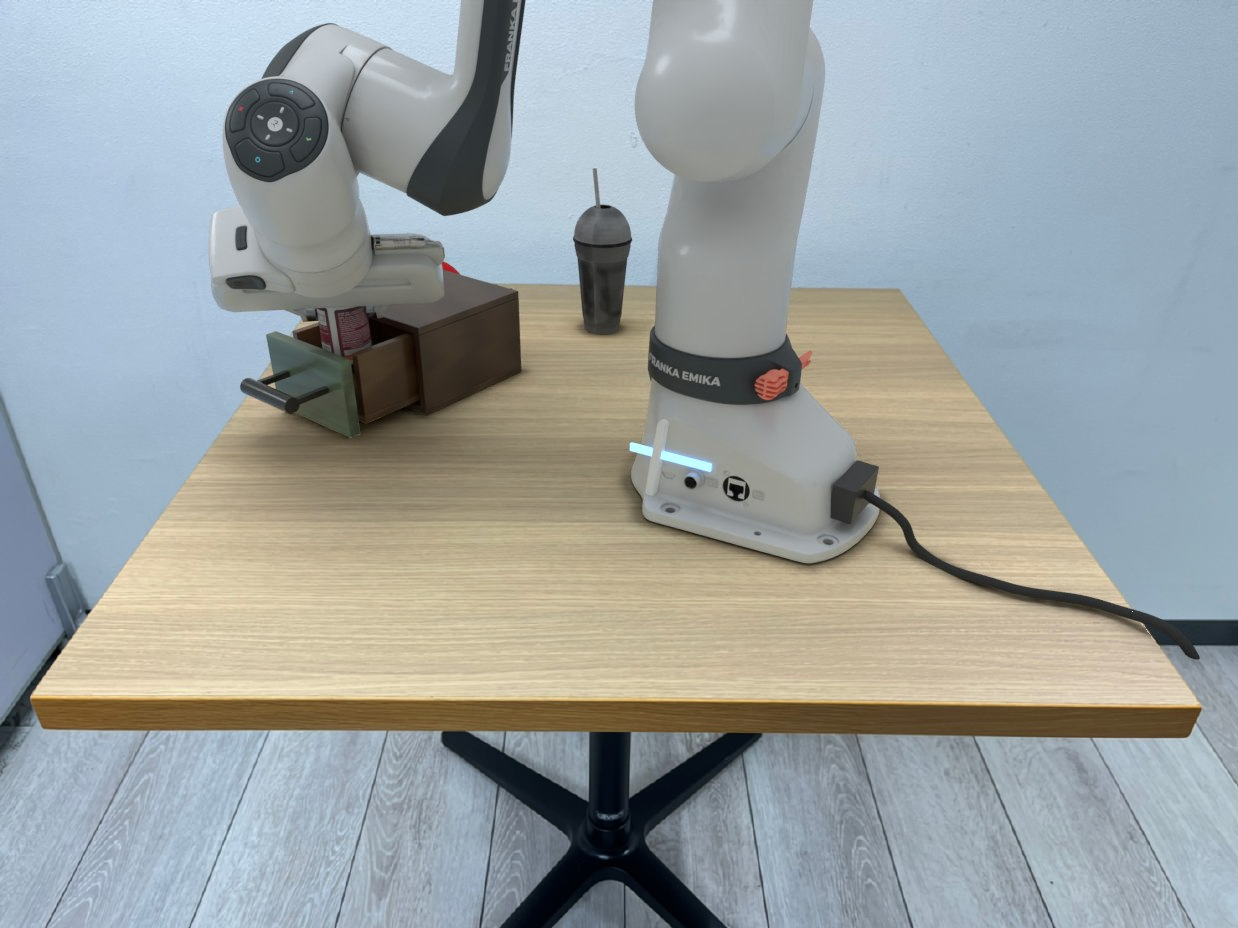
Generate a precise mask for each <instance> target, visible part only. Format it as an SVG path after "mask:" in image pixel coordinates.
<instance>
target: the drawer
mask: <svg viewBox="0 0 1238 928" xmlns="http://www.w3.org/2000/svg"><path fill="white" fill-rule="evenodd" d="M368 321H369V329H370V337H371V343H372V346H371V347H368V348H366V349H363V350H360V351H358V352H355V353H352V357H353V364H352V365H351V360H350V359H347V358H345V357H342V356H340V355H337V354H334V353H332V352H329V351H327V350H324V349H323V347H322V341H321V335H320V328H319V322H318V321H317V322H315V323H312V324H309V325H306V326H303V327H300V328H297V329H294V330H292V331H291V333H292V336H290V335H287V334H285V333H283V332H280V331H277V330H275V331H273V332H270V333H266V334H265V338H266V343H267V349H268V354H269V359H270V365H271V370H272V374H270V375H268V376H265V377H263V378H260V379H257V380H256V379H253V378H251V377H246V378H244V379H242V380H241V382H240V385H239V389H240V392H242V393H243V395H246V396H249V397H250V398H253V399H255V400H258V401H260V402H261V403H264V404H266V405H268V406H271V407H273V408H275V409H277V410H279V411H282V412H284V413H285V414H288V415H294V414H296V415H299V416H301V417H302V418H305V419H307V420H309V421H312V422H314V423H316V424H319V425H321V426H323V427H325V428H327V429H330V430H332V431H333V432H337V433H338V434H341V435H343V436H345V437H348V438H349V439H352V438H354V437H357V436H359V435H361V428H360V423H362V424H365V425H367V424H370V423H372V422H374V421H376V420H378V419H379V420H380V419H381V418H383V417H385V416H387V415H390V414H392V413H394V412H397V411H399V410H401V409H404V408H407V407H406V406H408V405H410V404H412V403H415V402H417V401H419V400H420V393H419V383H418V373H417V362H416V352H415V342H414V333H411V332H408V331H405V330H402V329H399V328H396V327H393V326H390V325H387V324H384V323H381V322H379V321H376V320H373V319H370V318H368ZM272 384H274V387H275V388H274V387H272V386H270V385H272Z"/></svg>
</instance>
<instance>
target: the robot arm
mask: <svg viewBox="0 0 1238 928" xmlns="http://www.w3.org/2000/svg"><path fill="white" fill-rule="evenodd" d="M526 2H527V1H526V0H460V9H459V16H458V28H457V37H456V46H455V58H454V67H453V73H452V74H449V73H445V72H443V71H441V70H438V69H437V68H434V67H431V66H430V65H427V64H425V63H423V62H421V61H418V60H416V59H414V58H412V57H409V56H408V55H405V54H403V53H401V52H398V51H396V50H394V49H393V48H391V47H390V46H388V45H387V44H384V43H381V42H379V41H377V40H374V39H373V38H371V37H368V36H366V35H364V34H360V33H358V32H356V31H354V30H351V29H349V28H347V27H343V26H341V25H339V24H336V23H333V22H326V23H323V24H319V25H316V26H312V27H311V28H309V29H306V30H305V31H303V32H301V33H300V34H298V35H297V36H295V37H294V38H292V39H291V40H290V41H288V42H287V43H285V44H284V45H283V46H282V47H281V48H280V49H279V51H278V52H276V54H275V55H274V57H272V59H271V60H270V62H269V64H268V65H267V67H266V69H265V71H263V74H262V76H261V78H260V79H258V80H255V81H253V82H251V83H250V84H248V85H246V86H245V87H244V88H242V89H241V90H240V91H239V92H238V93H237V94H236V95H235V97H233V98H232V101H231V102H230V104H229V105H228V107H227V109H226V111H225V114H224V117H223V122H222V133H221V134H222V135H221V136H222V137H221V138H222V151H223V152H222V153H223V159H224V164H225V168H226V173H227V176H228V179H229V182H230V185H231V189H232V191H233V193H234V196H235V198H236V200H237V202H238V205H236V206H233V207H228V208H224V209H223V208H222V209H219V210H216V211H214V212H213V213H212V214H211V215H210V221H209V230H208V242H207V243H208V245H207V246H208V247H207V250H208V251H207V252H208V265H209V272H210V292H211V294H212V298H213V300H214V301H215V303H216V305H217V307H218V308H219V309H220V310H223V311H227V312H229V313H249V312H252V313H253V312H268V311H270V312H272V311H285V312H288V313H291V314H293V315H296V316H298V317H300V319H301V321H302V323H311V322H318V317H317V311H316V308H335V307H355V306H366V315H367V318H383V311H384V310H385V309H386V308H388V307H389V306H390V305H397V304H418V303H434V302H437V301H439V300H440V299H442V298H443V297H444V279H443V269H442V263H443V261H444V260H445V258H446V254H445V246H444V245H443V243H442V242H441V241H440V240H433V239H431V238H429V237H428V236H426V235H424V234H421V233H411V232H409V233H408V232H407V233H406V232H405V233H383V234H382V233H380V234H377V233H376V234H375V233H374V234H372V233H371V230H370V225H369V222H368V217H367V214H366V210H365V207H364V205H363V203H362V201H361V199H360V186H359V181H358V178H357V177H358V176H359V175H360V174H362V175H364V176H366V177H367V178H368V177H369V178H371V179H373V180H375V181H377V182H379V183H382V184H384V185H386V186H389V187H391V188H393V189H395V190H397V191H400V192H402V193H404V194H406V196H407V197H408V198H410V199H412V200H413V201H416V202H417V203H419V204H421V205H422V206H424V207H426V208H428V209H430V210H432V211H433V212H435V213H437V214H438V215H440V216H442V217H449V216H454V215H459V214H465V213H468V212H470V211H473V210H476V209H478V208H481V207H482V206H484V205H487V204H489V203H490V202H491V201H492V200H493V199H494V198H495V196H496V194H497V192H498V191H499V188H500V186H501V185H502V183H503V181H504V179H505V177H506V174H507V171H508V168H509V165H510V159H511V153H512V152H511V151H512V140H513V125H514V105H515V103H514V102H515V88H516V78H517V69H518V62H519V56H520V55H519V53H520V46H521V38H522V32H523V23H524V15H525V8H526ZM813 5H814V0H652V6H651V12H650V13H651V14H650V22H649V31H648V39H647V45H646V53H645V58H644V62H643V65H642V68H641V71H640V74H639V76H638V79H637V83H636V88H635V93H634V94H635V95H634V116H635V122H636V126H637V129H638V133H639V135H640V138H641V140H642V142H643V144H644V146H645V148H646V149H647V151H648V152H649V154H650V155H651V156H652V157H653V158H654V160H656V162H657V163H658V164H660V165H661V167H663V168H664V169H665V170H667V171H669V172H670V173H672V174H673V180H672V184H671V189H670V194H669V199H668V204H667V208H666V213H665V216H664V220H663V223H662V226H661V229H660V232H659V235H658V241H657V242H658V243H657V265H656V266H657V267H656V291H655V295H656V296H655V313H654V314H655V315H654V317H655V318H654V325H653V326H652V327H651V329H650V331H649V340H648V341H649V342H648V352H647V353H648V357H647V371H648V376H649V381H650V389H649V397H648V405H647V411H646V417H645V422H644V426H643V431H642V435H641V440H640V443H636V442H632V441H631V442H630V443H629V451H630V452H633V453H636V456H635V458H634V461H633V464H632V465H631V471H630V479H631V483H632V484H633V486H634V488H635V490H636V491H637V492H638V494H639V495H640V497H641V499H642V505H641V512H642V516H643V517H644V518H645V519H646V520H648V521H649V522H652V523H655V524H660V525H663V526H667V527H670V528H674V529H678V530H682V531H685V532H689V533H693V534H696V535H700V536H703V537H707V538H711V539H714V540H718V541H720V542H721V541H722V542H725V543H728V544H733V545H736V546H738V547H739V546H740V547H743V548H747V549H750V550H754V551H758V552H762V553H766V554H769V555H773V556H776V557H780V558H783V559H787V560H790V561H794V562H799V563H803V564H816V563H820V562H824V561H828V560H830V559H833V558H836V557H837V556H839V555H842V554H843V553H846V552H847V551H848V550H850V549H851V548H853V547H854V546H855V545H856V544H858V543H859V542H860V541H861V540H862V539H863V538H864V537H866V535H867V534H868V533H869V532H870V530H871V529H872V528H873V527H874V525H875V524H876V522H877V520H878V517H879V515H880V511H882V512H884V514H887V515H888V516H889V517H890V518H891V519H892V520H893V521H895V522H896V524H897V525H898V526H899V527H900V528H901V531H902V533H903V536H904V539H905V542H906V544H907V546H908V547H909V548H910V550H911V551H912V552H913V553H915V554H916V555H917V556H918V557H919V558H920V559H922V560H923V561H924V562H925V563H926V562H927V563H928V564H929V565H931V566H933V567H936V568H937V569H939V570H941V571H944V572H945V573H947V574H949V575H951V576H954V577H956V578H958V579H962V580H965V581H967V582H972V583H974V584H978V585H981V586H985V587H988V588H992V589H995V590H999V591H1000V592H1004V593H1009V594H1012V595H1016V596H1019V597H1025V598H1031V599H1036V600H1043V601H1049V602H1050V601H1051V602H1059V603H1065V604H1066V603H1067V604H1073V605H1079V606H1083V607H1087V608H1091V609H1096V610H1099V611H1102V612H1106V613H1109V614H1112V615H1115V616H1117V617H1121V618H1125V619H1129V620H1131V621H1135V622H1139V623H1142V624H1144V625H1147V626H1150V627H1152V628H1154V629H1156V630H1158V631H1160V632H1162V633H1163V634H1165V635H1166V636H1167V637H1169V638H1170V639H1171V640H1172V641H1173V642H1174V643H1175V644H1177V646H1178V648H1180V650H1181V651H1182V652H1183V653H1184V655H1185V656H1186V657H1188V658H1190V659H1192V660H1195V661H1196V660H1197V661H1198V660H1201V657H1200V654H1199V652H1198V651H1197V649H1196V647H1195V646H1194V645H1193V643H1192V642H1191V640H1189V639H1188V637H1187V636H1186V635H1185V634H1184V633H1182V631H1180V629H1178V628H1177V627H1176V626H1174V625H1173V624H1171V623H1170V622H1168V621H1166V620H1164V619H1163V618H1160V617H1158V616H1155V615H1153V614H1150V613H1148V612H1144V611H1140V610H1136V609H1134V608H1130V607H1127V606H1123V605H1120V604H1116V603H1113V602H1110V601H1107V600H1105V599H1104V600H1103V599H1101V598H1098V597H1097V598H1096V597H1092V596H1088V595H1083V594H1078V593H1072V592H1067V591H1059V590H1051V589H1043V588H1036V587H1030V586H1025V585H1020V584H1015V583H1012V582H1008V581H1005V580H1001V579H998V578H995V577H991V576H988V575H985V574H982V573H977V572H974V571H971V570H967V569H964V568H961V567H958V566H955V565H954V564H950V563H949V562H947V561H944V560H943V559H940V558H939V557H937V556H936V555H935V554H933V553H931V552H930V551H929V550H927V549H926V548H925V547H924V546H922V544H920V543H919V542H918V540H917V538H916V536H915V533H914V530H913V527H912V525H911V523H910V521H909V520H908V518H907V517H906V516H905V515H904V514H903V513H902V512H900V510H899V509H897V508H896V507H895V506H894V505H892V504H891V503H889V502H888V501H886V500H884V499H882V498H881V494H880V491H879V489H878V487H877V480H878V474H879V470H880V467H879V466H878V465H876V464H873V463H869V462H865V461H862V460H859V457H858V451H857V450H858V449H857V445H856V442H855V440H854V438H853V436H852V434H851V433H850V432H849V431H847V429H846V428H845V427H843V425H842V424H840V422H838V420H836V419H835V417H834V416H833V415H831V413H830V412H829V411H828V410H827V409H826V408H825V407H824V406H823V405H822V403H820V402H819V401H818V399H817V398H815V397H814V396H813V394H812V393H811V392H810V391H809V390H808V389H807V388H806V387H805V386H804V385H803V384H802V382H801V380H802V371H803V370H804V369H805V368H807V367H808V366H809V365H810V364H811V363H812V360H810V359H811V357H812V355H813V351H812V350H808V351H806V352H805V353H803V354H802V355H800V356H798V355H797V352H795V350H794V348H793V345H792V343H791V339H790V338H789V335H788V334H787V328H788V320H789V311H790V305H791V304H790V302H791V294H792V286H793V277H794V269H795V262H796V261H795V260H796V252H797V246H798V240H799V239H798V238H799V233H800V230H801V229H800V228H801V223H802V219H803V214H804V208H805V203H806V197H807V192H808V187H809V181H810V177H811V176H810V175H811V170H812V165H813V159H814V153H815V149H816V148H815V147H816V141H817V135H818V134H817V133H818V130H819V129H818V128H819V123H820V116H821V110H822V103H823V97H824V91H825V84H826V62H825V57H824V53H823V49H822V47H821V44H820V42H819V38H818V37H817V35H816V34H815V32H814V30H813V29H812V27H811V19H812V12H813ZM444 262H445V261H444ZM1132 611H1133V612H1132Z"/></svg>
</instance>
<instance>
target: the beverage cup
mask: <svg viewBox="0 0 1238 928" xmlns="http://www.w3.org/2000/svg"><path fill="white" fill-rule="evenodd" d="M592 177H593V188H594V199H595V205H593V206H590V207H589V208H587V209H586V210H584V212H582V214H581V215H579V218H578V220H577V221H576V224H575V225H574V226H575V227H574V232H573V236H572V240H573V243H574V249H575V250H574V251H575V256H576V258H577V267H578V268H577V269H578V281H579V290H580V301H581V314H582V319H583V328H584V329H583V330H584V331H586V332H587V333H589V334H593V335H600V336H601V335H610V334H611V335H612V334H614V333H617V332H618V331H619V330H620V325H621V318H622V312H623V303H624V296H625V295H624V293H625V284H626V275H627V265H628V258H629V256H630V252H631V246H632V245H631V244H632V242H633V236H632V231H631V226H630V224H629V221H628V220H627V218H626V216H625V215H624V213H623V212H621V210H620V209H619V208H617V207H615V206H612V205H610V204H603V203H602V204H601V199H600V188H599V187H600V186H599V176H598V168H596V167H594V168H592Z"/></svg>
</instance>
